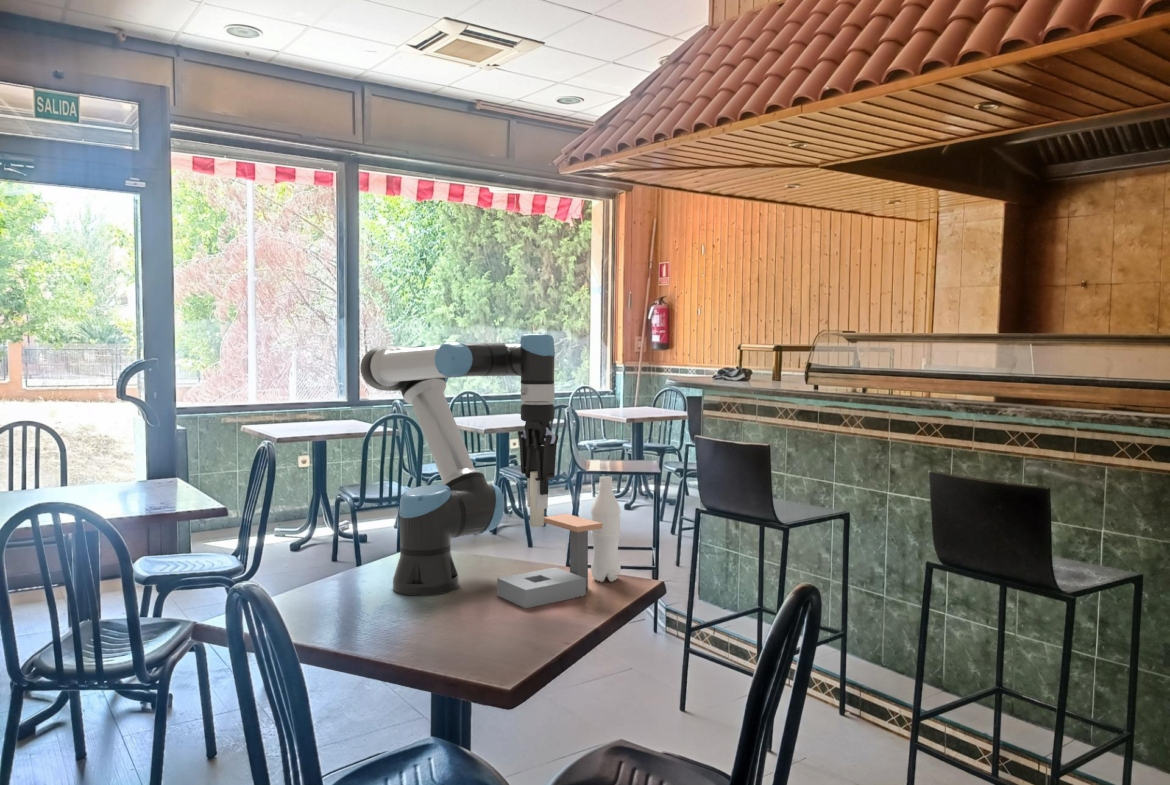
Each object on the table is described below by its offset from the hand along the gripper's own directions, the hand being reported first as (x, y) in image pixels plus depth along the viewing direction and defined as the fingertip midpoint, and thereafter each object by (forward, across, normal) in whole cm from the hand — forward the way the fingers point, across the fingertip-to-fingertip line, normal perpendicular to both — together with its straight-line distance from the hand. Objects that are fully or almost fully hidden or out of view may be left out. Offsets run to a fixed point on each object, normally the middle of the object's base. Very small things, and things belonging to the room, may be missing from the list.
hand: (537, 507), depth 182 cm
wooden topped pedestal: (+20, 0, +10) cm, 22 cm away
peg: (+4, 0, 0) cm, 4 cm away
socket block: (+20, 0, +1) cm, 20 cm away
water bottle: (+20, -2, +21) cm, 29 cm away
